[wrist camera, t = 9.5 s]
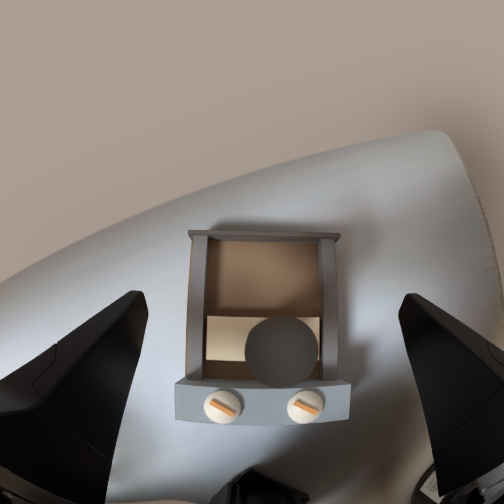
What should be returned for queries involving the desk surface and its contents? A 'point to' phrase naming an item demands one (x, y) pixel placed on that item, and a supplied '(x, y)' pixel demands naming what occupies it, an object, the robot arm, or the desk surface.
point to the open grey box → (260, 291)
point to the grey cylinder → (266, 346)
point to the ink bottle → (436, 491)
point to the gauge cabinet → (261, 402)
